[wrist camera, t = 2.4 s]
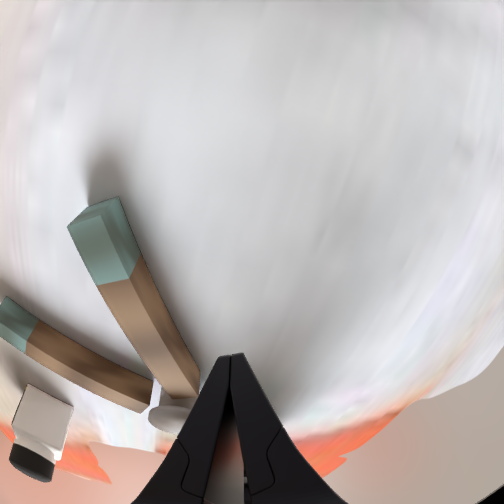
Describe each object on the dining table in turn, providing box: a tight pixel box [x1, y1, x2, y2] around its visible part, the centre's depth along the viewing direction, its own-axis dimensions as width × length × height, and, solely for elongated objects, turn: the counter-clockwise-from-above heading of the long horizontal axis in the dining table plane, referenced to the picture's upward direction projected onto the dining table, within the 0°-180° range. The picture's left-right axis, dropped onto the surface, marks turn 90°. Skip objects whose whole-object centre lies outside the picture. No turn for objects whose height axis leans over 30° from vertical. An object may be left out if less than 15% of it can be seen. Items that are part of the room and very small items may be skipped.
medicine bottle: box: [9, 384, 74, 482], centre depth 23 cm, size 7×7×12 cm
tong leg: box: [67, 197, 200, 399], centre depth 19 cm, size 16×2×3 cm, turn 12°
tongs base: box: [0, 297, 198, 434], centre depth 21 cm, size 22×6×4 cm, turn 52°
